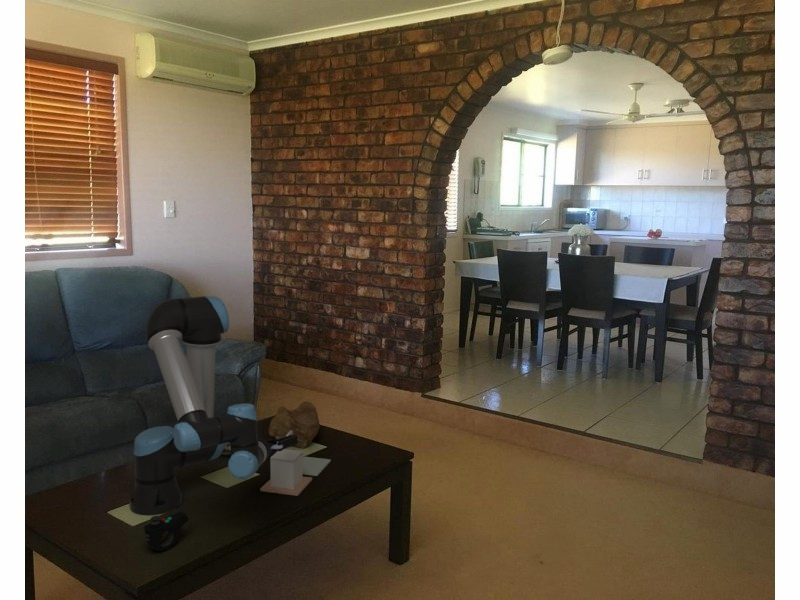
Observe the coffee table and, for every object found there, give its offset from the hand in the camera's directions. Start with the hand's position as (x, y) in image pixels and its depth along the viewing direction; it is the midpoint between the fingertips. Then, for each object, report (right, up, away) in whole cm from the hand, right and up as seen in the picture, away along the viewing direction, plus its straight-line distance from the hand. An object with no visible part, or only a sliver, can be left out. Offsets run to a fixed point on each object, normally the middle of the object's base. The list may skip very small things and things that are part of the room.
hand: (270, 436), depth 210 cm
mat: (+8, -16, +24) cm, 29 cm away
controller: (-21, -23, -34) cm, 46 cm away
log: (-23, -14, +35) cm, 44 cm away
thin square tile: (+4, -18, +7) cm, 20 cm away
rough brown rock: (+2, -13, +46) cm, 48 cm away
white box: (+4, -17, +7) cm, 19 cm away
